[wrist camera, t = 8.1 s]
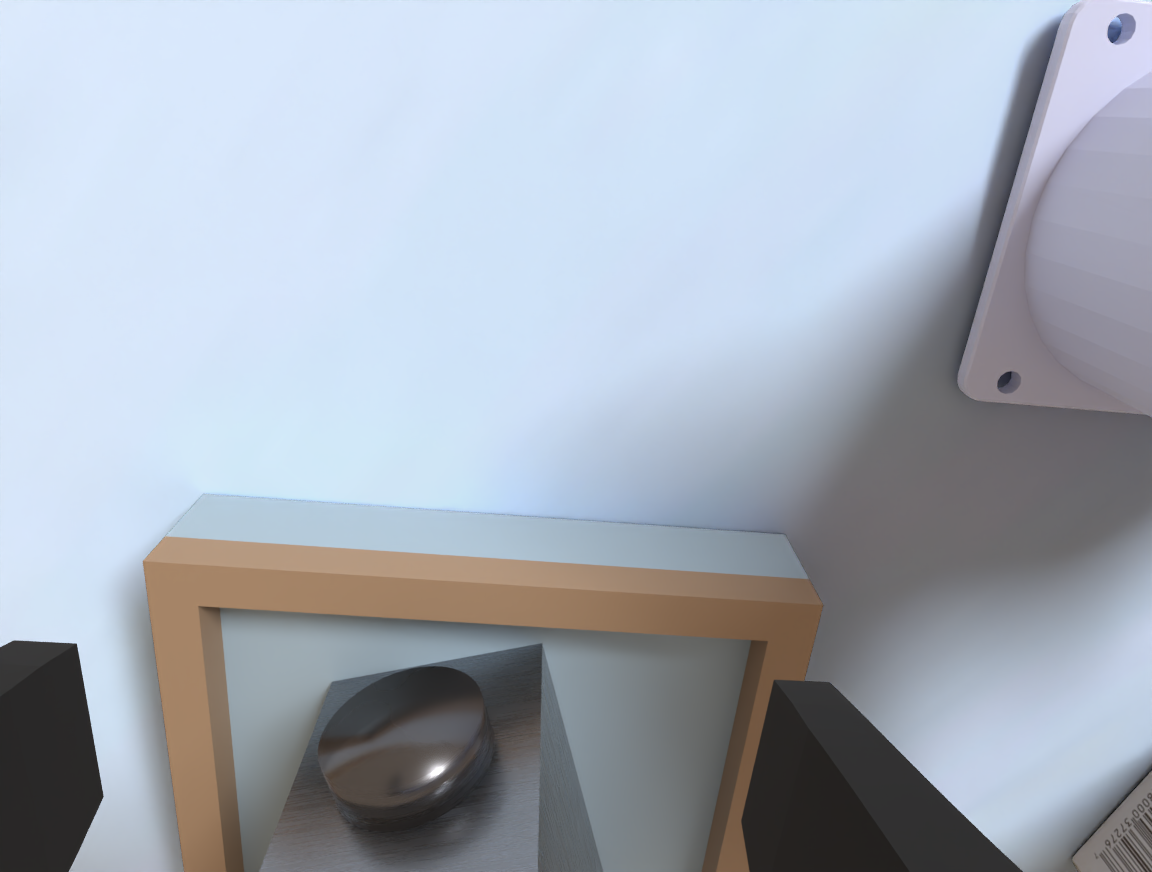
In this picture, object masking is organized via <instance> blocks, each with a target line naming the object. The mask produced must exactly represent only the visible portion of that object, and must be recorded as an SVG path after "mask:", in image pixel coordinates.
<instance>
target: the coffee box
mask: <svg viewBox="0 0 1152 872" xmlns="http://www.w3.org/2000/svg"><path fill="white" fill-rule="evenodd" d="M1072 861H1073V864H1074V866H1075V867H1076V869H1077V870H1078V872H1152V771H1151V772H1150V773H1149V774H1148V775H1147V776H1146V777H1145V778H1144V779H1143V781H1142V782H1141V783H1140V784H1139V785H1138V786H1137V787H1136V788H1135V789H1134V790H1133V792H1132V793H1131V794H1130V795H1129V796H1128V797H1127V798H1126V799H1125V800H1124V801H1123V803H1122V804H1121V805H1120V806H1119V807H1118V808H1117V809H1116V810H1115V811H1114V812H1113V813H1112V814H1111V815H1110V817H1109V818H1108V819H1107V820H1106V821H1105V822H1104V823H1103V824H1102V825H1101V826H1100V828H1099V829H1098V830H1097V831H1096V832H1095V833H1094V834H1093V835H1092V836H1091V837H1090V838H1089V840H1088V841H1087V842H1086V843H1085V844H1084V845H1083V846H1082V847H1081V848H1080V849H1079V850H1078V851H1077V853H1076V854H1075V855H1074V856H1073V858H1072Z"/></svg>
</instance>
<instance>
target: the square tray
mask: <svg viewBox="0 0 1152 872" xmlns="http://www.w3.org/2000/svg"><path fill="white" fill-rule="evenodd" d="M143 566H144V574H145V581H146V589H147V596H148V604H149V611H150V619H151V626H152V634H153V641H154V649H155V656H156V664H157V671H158V679H159V686H160V694H161V702H162V709H163V717H164V724H165V732H166V739H167V747H168V754H169V762H170V769H171V777H172V784H173V792H174V799H175V807H176V814H177V822H178V829H179V837H180V844H181V852H182V859H183V867H184V872H259V871H260V868H261V866H262V863H263V861H264V858H265V855H266V853H267V850H268V847H269V845H270V842H271V840H272V837H273V834H274V832H275V829H276V827H277V824H278V821H279V819H280V816H281V814H282V811H283V808H284V806H285V803H286V800H287V798H288V795H289V793H290V790H291V787H292V785H293V782H294V780H295V777H296V774H297V772H298V769H299V767H300V764H301V761H302V759H303V756H304V753H305V751H306V748H307V746H308V743H309V740H310V738H311V735H312V733H313V730H314V727H315V725H316V722H317V720H318V717H319V714H320V712H321V709H322V706H323V704H324V701H325V699H326V696H327V693H328V691H329V688H330V686H331V683H332V682H333V681H338V680H344V679H349V678H355V677H360V676H366V675H371V674H377V673H382V672H387V671H393V670H398V669H404V668H409V667H415V666H420V665H426V664H431V663H437V662H442V661H447V660H453V659H458V658H464V657H469V656H475V655H480V654H486V653H491V652H496V651H502V650H507V649H513V648H518V647H524V646H529V645H535V644H540V643H542V644H543V648H544V651H545V655H546V659H547V663H548V666H549V670H550V674H551V678H552V681H553V685H554V689H555V693H556V696H557V700H558V704H559V707H560V711H561V715H562V719H563V722H564V726H565V730H566V734H567V737H568V741H569V745H570V749H571V752H572V756H573V760H574V764H575V767H576V771H577V775H578V779H579V782H580V786H581V790H582V794H583V797H584V801H585V805H586V809H587V812H588V816H589V820H590V824H591V827H592V831H593V835H594V839H595V842H596V846H597V850H598V854H599V857H600V861H601V865H602V869H603V872H749V866H748V860H747V854H746V848H745V842H744V836H743V830H742V824H741V819H742V815H743V810H744V806H745V802H746V798H747V793H748V789H749V785H750V780H751V776H752V772H753V767H754V763H755V759H756V754H757V750H758V746H759V742H760V737H761V733H762V729H763V724H764V720H765V716H766V711H767V707H768V703H769V698H770V694H771V690H772V686H773V681H774V680H793V681H804V680H805V676H806V672H807V668H808V664H809V660H810V656H811V652H812V648H813V644H814V640H815V636H816V632H817V628H818V624H819V620H820V616H821V612H822V608H823V604H822V602H821V600H820V598H819V596H818V594H817V593H816V591H815V589H814V587H813V585H812V583H811V582H810V580H809V578H808V576H807V574H806V572H805V570H804V569H803V567H802V565H801V563H800V561H799V559H798V557H797V556H796V554H795V552H794V550H793V548H792V546H791V544H790V543H789V541H788V539H787V537H786V535H785V534H772V533H758V532H744V531H729V530H715V529H701V528H686V527H672V526H658V525H643V524H629V523H615V522H600V521H586V520H572V519H558V518H543V517H529V516H515V515H500V514H486V513H472V512H457V511H443V510H429V509H414V508H400V507H386V506H371V505H357V504H343V503H328V502H314V501H300V500H285V499H271V498H257V497H242V496H228V495H214V494H203V495H202V496H201V497H200V498H199V499H198V500H197V501H196V503H195V504H194V505H193V506H192V507H191V508H190V509H189V510H188V512H187V513H186V514H185V515H184V516H183V517H182V518H181V519H180V520H179V522H178V523H177V524H176V525H175V526H174V527H173V528H172V529H171V530H170V532H169V533H168V534H167V535H166V536H165V537H164V538H163V539H162V540H161V542H160V543H159V544H158V545H157V546H156V547H155V548H154V549H153V550H152V552H151V553H150V554H149V555H148V556H147V557H146V558H145V559H144V561H143Z"/></svg>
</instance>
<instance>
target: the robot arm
mask: <svg viewBox="0 0 1152 872" xmlns="http://www.w3.org/2000/svg"><path fill="white" fill-rule="evenodd" d="M1115 17H1118V18H1119V19H1120V21H1121V23H1122V30H1121V34H1120V36H1119V37H1118V39H1117V41H1115V42H1114V43H1111V42H1110V41H1109V39H1108V37H1107V32H1108V26H1109V25H1110V23H1111V21H1112V20H1113V19H1114V18H1115ZM1009 371H1011V372H1012V374H1011V379H1010V381H1009V382H1008V384H1006V385H1005V386H1003V387H1000V388H997V381H998V380H999V378H1000V376H1001V375H1003V374H1004V373H1006V372H1009ZM957 383H958V385H959V388H960V390H961V391H962V392H963V393H965V394H966V395H967V396H969V397H970V398H971V399H974V400H977V401H984V402H996V403H1008V404H1021V405H1033V406H1045V407H1057V408H1070V409H1082V410H1094V411H1107V412H1119V413H1131V414H1143V415H1149V416H1150V417H1152V2H1148V1H1139V0H1081V1H1080V2H1078V3H1076V4H1074V5H1073V6H1072V7H1071V8H1070V9H1069V10H1068V11H1067V12H1066V13H1065V14H1064V17H1063V19H1062V21H1061V23H1060V25H1059V28H1058V32H1057V35H1056V39H1055V42H1054V46H1053V49H1052V53H1051V56H1050V59H1049V63H1048V66H1047V70H1046V73H1045V77H1044V80H1043V83H1042V87H1041V90H1040V94H1039V97H1038V101H1037V104H1036V108H1035V111H1034V114H1033V118H1032V121H1031V125H1030V128H1029V132H1028V135H1027V138H1026V142H1025V145H1024V149H1023V152H1022V156H1021V159H1020V163H1019V166H1018V169H1017V173H1016V176H1015V180H1014V183H1013V187H1012V190H1011V193H1010V197H1009V200H1008V204H1007V207H1006V211H1005V214H1004V218H1003V221H1002V224H1001V228H1000V231H999V235H998V238H997V242H996V245H995V248H994V252H993V255H992V259H991V262H990V266H989V269H988V272H987V276H986V279H985V283H984V286H983V290H982V293H981V297H980V300H979V303H978V307H977V310H976V314H975V317H974V321H973V324H972V327H971V331H970V334H969V338H968V341H967V345H966V348H965V352H964V355H963V358H962V362H961V365H960V369H959V372H958V380H957ZM103 797H104V796H103V791H102V785H101V779H100V774H99V768H98V762H97V756H96V751H95V745H94V739H93V734H92V728H91V722H90V716H89V711H88V705H87V699H86V694H85V688H84V682H83V676H82V671H81V665H80V659H79V654H78V648H77V644H72V643H53V642H33V641H12V642H10V643H8V644H6V645H4V646H2V647H0V872H69V870H70V868H71V866H72V864H73V862H74V860H75V858H76V855H77V853H78V851H79V849H80V847H81V845H82V843H83V840H84V838H85V836H86V834H87V832H88V829H89V827H90V825H91V823H92V821H93V819H94V816H95V814H96V812H97V810H98V808H99V805H100V803H101V801H102V799H103ZM741 824H742V830H743V836H744V842H745V848H746V854H747V860H748V866H749V872H1023V871H1022V870H1020V869H1019V868H1018V867H1017V866H1016V865H1015V864H1014V863H1013V862H1012V861H1011V860H1010V859H1009V858H1008V857H1006V856H1005V855H1004V854H1003V853H1002V852H1001V851H1000V850H999V849H998V848H997V847H996V846H995V845H994V844H993V843H992V842H991V841H990V840H989V839H988V838H986V837H985V836H984V835H983V834H982V833H981V832H980V831H979V830H978V829H977V828H976V827H975V826H974V825H973V824H972V823H971V822H970V821H969V820H968V819H967V818H966V817H965V816H964V815H963V814H962V813H961V812H960V811H959V810H957V809H956V808H955V807H954V806H953V805H952V804H951V803H950V802H949V801H948V800H947V799H946V798H945V797H944V796H943V795H942V794H941V793H940V792H939V791H938V790H937V789H936V788H935V787H934V786H933V785H932V784H931V783H930V782H929V781H928V780H927V779H926V778H925V777H924V776H923V775H922V774H921V773H920V772H919V771H918V770H917V769H916V768H915V767H914V766H913V765H912V764H911V763H910V762H909V761H908V760H907V759H906V758H905V757H904V756H903V755H902V754H901V753H900V752H899V751H898V750H897V749H896V748H895V747H894V746H893V745H892V744H891V743H890V742H889V741H888V740H887V739H886V738H885V737H884V736H883V735H882V734H881V733H880V732H879V731H878V730H877V729H876V728H875V727H874V726H873V725H872V724H871V723H870V722H869V721H868V720H867V719H866V718H865V716H863V715H862V714H861V713H860V712H859V711H858V710H857V709H856V708H855V707H854V706H853V705H852V704H851V703H850V702H849V701H848V700H847V699H846V698H845V697H844V696H843V695H842V694H841V693H840V692H839V691H838V690H837V689H836V688H835V687H834V686H833V685H832V684H831V683H829V682H813V681H793V680H774V681H773V686H772V690H771V694H770V698H769V703H768V707H767V711H766V716H765V720H764V724H763V729H762V733H761V737H760V742H759V746H758V750H757V754H756V759H755V763H754V767H753V772H752V776H751V780H750V785H749V789H748V793H747V798H746V802H745V806H744V810H743V815H742V819H741Z"/></svg>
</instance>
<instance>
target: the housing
mask: <svg viewBox="0 0 1152 872" xmlns="http://www.w3.org/2000/svg"><path fill="white" fill-rule="evenodd" d="M259 872H603V869H602V865H601V861H600V857H599V854H598V850H597V846H596V842H595V839H594V835H593V831H592V827H591V824H590V820H589V816H588V812H587V809H586V805H585V801H584V797H583V794H582V790H581V786H580V782H579V779H578V775H577V771H576V767H575V764H574V760H573V756H572V752H571V749H570V745H569V741H568V737H567V734H566V730H565V726H564V722H563V719H562V715H561V711H560V707H559V704H558V700H557V696H556V693H555V689H554V685H553V681H552V678H551V674H550V670H549V666H548V663H547V659H546V655H545V651H544V648H543V644H542V643H540V644H535V645H529V646H524V647H518V648H513V649H507V650H502V651H496V652H491V653H486V654H480V655H475V656H469V657H464V658H458V659H453V660H447V661H442V662H437V663H431V664H426V665H420V666H415V667H409V668H404V669H398V670H393V671H387V672H382V673H377V674H371V675H366V676H360V677H355V678H349V679H344V680H338V681H333V682H332V683H331V686H330V688H329V691H328V693H327V696H326V699H325V701H324V704H323V706H322V709H321V712H320V714H319V717H318V720H317V722H316V725H315V727H314V730H313V733H312V735H311V738H310V740H309V743H308V746H307V748H306V751H305V753H304V756H303V759H302V761H301V764H300V767H299V769H298V772H297V774H296V777H295V780H294V782H293V785H292V787H291V790H290V793H289V795H288V798H287V800H286V803H285V806H284V808H283V811H282V814H281V816H280V819H279V821H278V824H277V827H276V829H275V832H274V834H273V837H272V840H271V842H270V845H269V847H268V850H267V853H266V855H265V858H264V861H263V863H262V866H261V868H260V871H259Z"/></svg>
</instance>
